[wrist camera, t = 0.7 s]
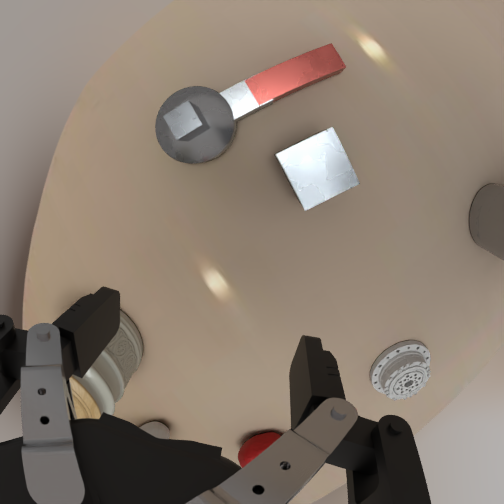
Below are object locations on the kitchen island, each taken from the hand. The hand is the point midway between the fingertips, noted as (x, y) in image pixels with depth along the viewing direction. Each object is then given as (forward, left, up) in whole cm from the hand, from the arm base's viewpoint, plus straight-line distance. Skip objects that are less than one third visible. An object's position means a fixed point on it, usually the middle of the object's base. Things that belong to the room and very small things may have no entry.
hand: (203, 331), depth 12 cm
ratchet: (-3, -13, -22) cm, 26 cm away
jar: (+23, +14, -22) cm, 35 cm away
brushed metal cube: (-8, -5, -22) cm, 24 cm away
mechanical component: (-20, +25, -23) cm, 39 cm away
